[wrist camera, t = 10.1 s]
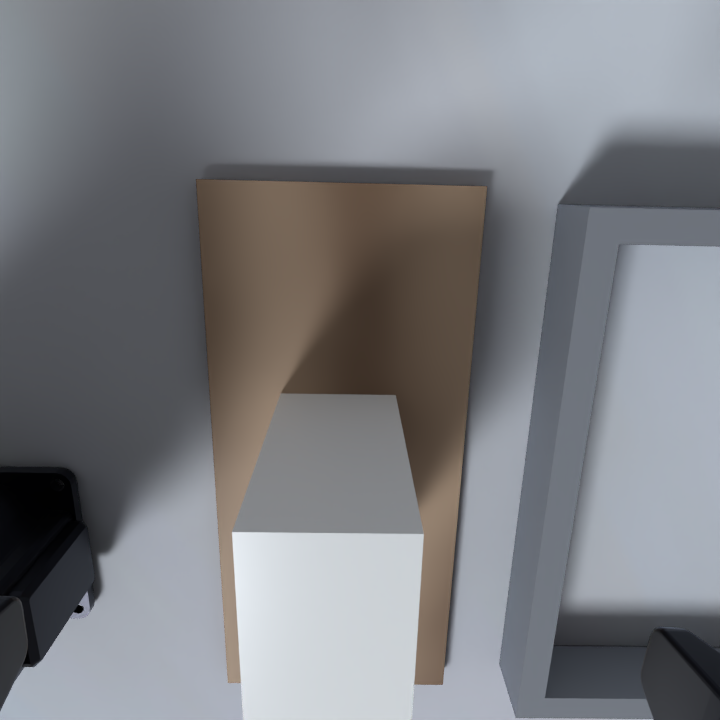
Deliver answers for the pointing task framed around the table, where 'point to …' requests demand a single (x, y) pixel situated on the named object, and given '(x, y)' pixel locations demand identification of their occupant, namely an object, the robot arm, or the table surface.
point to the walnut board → (343, 341)
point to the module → (329, 564)
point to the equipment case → (574, 464)
